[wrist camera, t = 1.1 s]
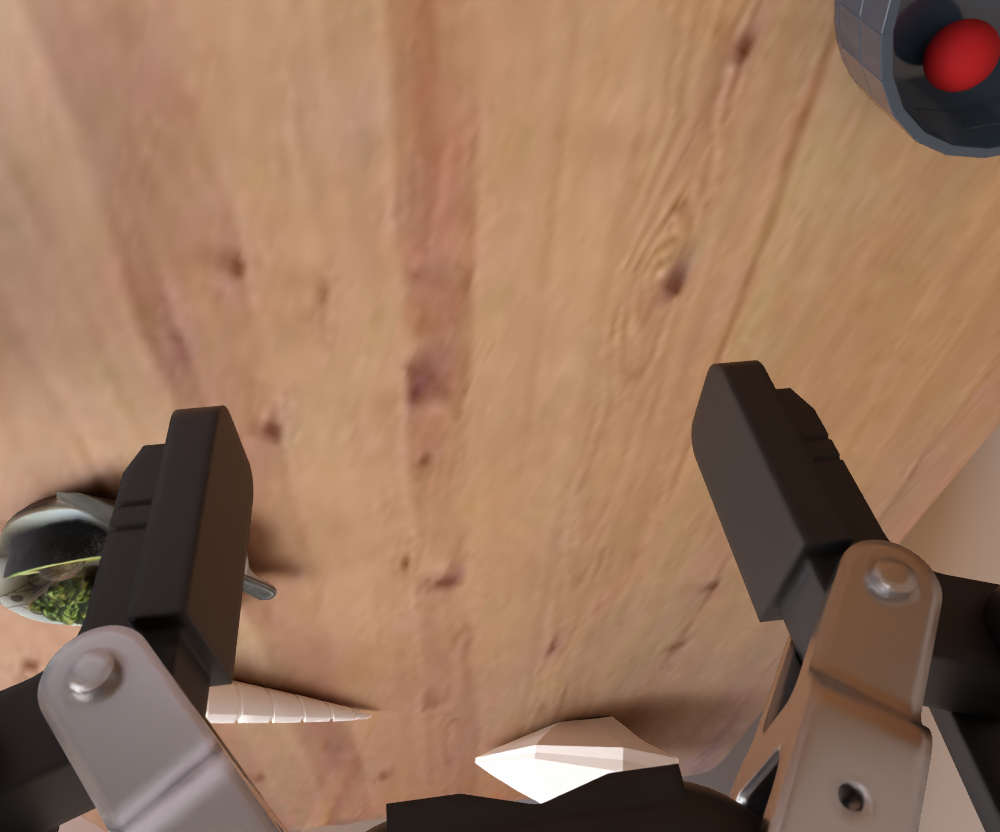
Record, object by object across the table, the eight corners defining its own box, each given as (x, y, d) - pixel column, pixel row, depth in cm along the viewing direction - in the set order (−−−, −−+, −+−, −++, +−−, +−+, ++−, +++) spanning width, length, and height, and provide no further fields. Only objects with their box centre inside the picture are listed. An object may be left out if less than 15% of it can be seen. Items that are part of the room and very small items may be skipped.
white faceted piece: (449, 737, 92) (459, 850, 83) (625, 671, 84) (655, 788, 76) (546, 777, 108) (562, 875, 100) (700, 726, 101) (731, 826, 93)
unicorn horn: (350, 723, 84) (350, 768, 81) (149, 677, 70) (139, 728, 67) (377, 708, 82) (378, 753, 79) (176, 657, 68) (167, 709, 65)
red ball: (945, -3, 33) (984, 22, 31) (990, 22, 34) (1030, 48, 32) (896, 63, 35) (929, 90, 33) (940, 84, 36) (975, 112, 34)
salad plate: (315, 521, 56) (312, 575, 53) (238, 631, 66) (232, 681, 63) (22, 457, 47) (-1, 517, 44) (-14, 595, 57) (-35, 651, 54)
